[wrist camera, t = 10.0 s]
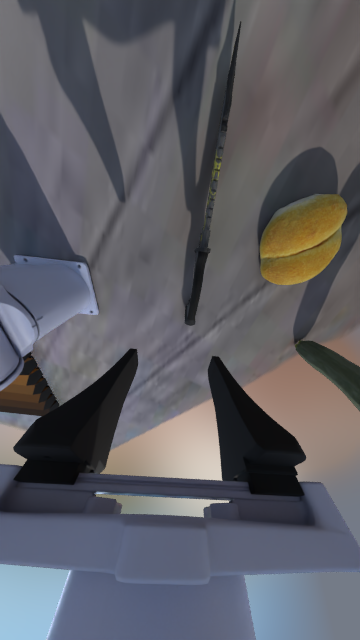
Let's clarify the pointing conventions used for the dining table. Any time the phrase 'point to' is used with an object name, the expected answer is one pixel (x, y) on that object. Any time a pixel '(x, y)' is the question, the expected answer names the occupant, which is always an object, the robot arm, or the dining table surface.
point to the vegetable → (333, 368)
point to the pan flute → (28, 392)
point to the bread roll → (302, 238)
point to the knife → (211, 196)
